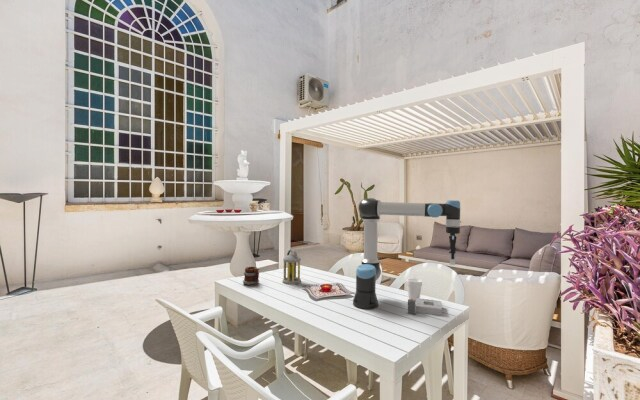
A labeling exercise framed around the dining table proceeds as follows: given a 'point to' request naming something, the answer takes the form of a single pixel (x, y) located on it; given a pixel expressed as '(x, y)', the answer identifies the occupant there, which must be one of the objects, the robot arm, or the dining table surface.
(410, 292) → the foam cup
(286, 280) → the lantern
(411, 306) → the plug
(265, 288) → the dining table surface
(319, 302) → the dining table surface
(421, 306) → the socket plate
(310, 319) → the dining table surface
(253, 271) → the mug
